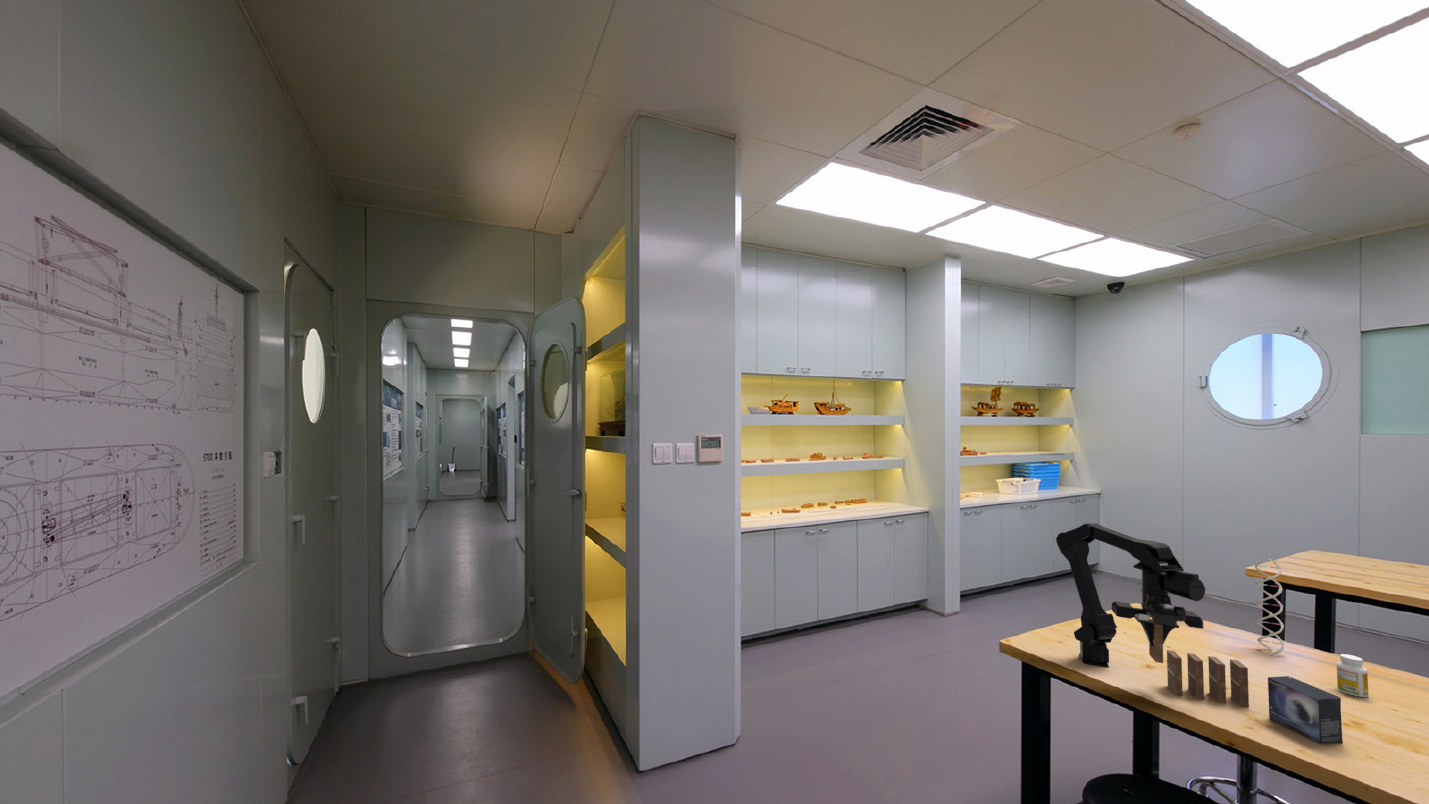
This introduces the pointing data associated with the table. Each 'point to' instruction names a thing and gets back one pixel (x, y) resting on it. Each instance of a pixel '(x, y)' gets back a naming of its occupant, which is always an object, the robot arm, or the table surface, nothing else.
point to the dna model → (1271, 604)
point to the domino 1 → (1156, 642)
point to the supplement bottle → (1352, 676)
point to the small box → (1305, 709)
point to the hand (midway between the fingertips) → (1155, 645)
